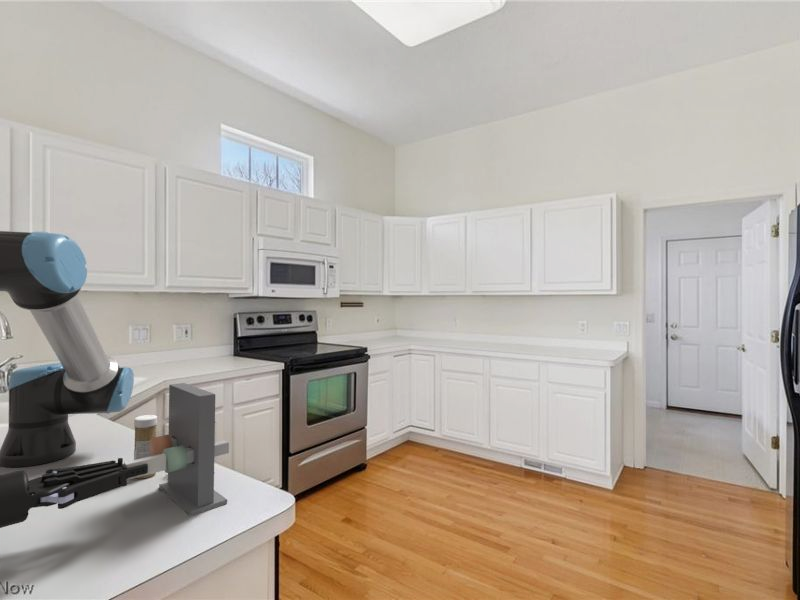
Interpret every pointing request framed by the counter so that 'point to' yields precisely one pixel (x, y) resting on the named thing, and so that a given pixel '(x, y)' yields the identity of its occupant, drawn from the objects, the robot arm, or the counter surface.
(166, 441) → the rust button
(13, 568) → the counter surface
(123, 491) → the counter surface
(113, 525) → the counter surface
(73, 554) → the counter surface
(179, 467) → the sage button
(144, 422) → the spice jar
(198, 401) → the button panel
